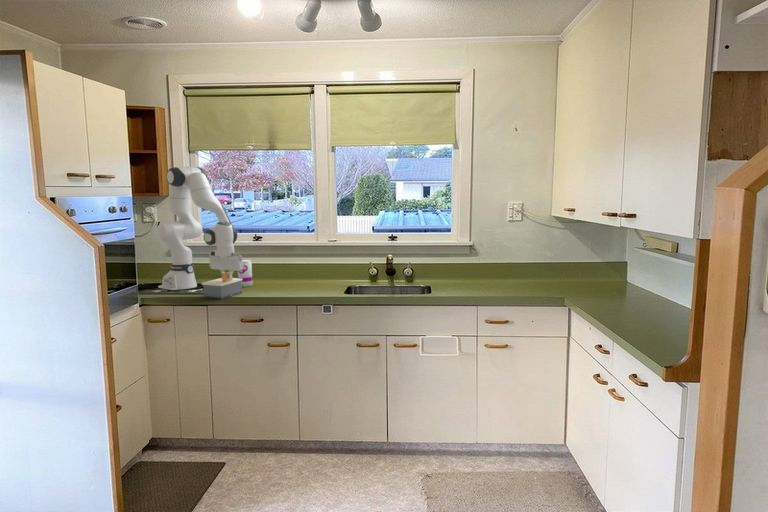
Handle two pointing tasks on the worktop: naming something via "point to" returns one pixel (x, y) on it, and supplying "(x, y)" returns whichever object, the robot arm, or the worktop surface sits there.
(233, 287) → the tub
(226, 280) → the lid
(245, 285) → the supplement can
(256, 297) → the worktop surface
